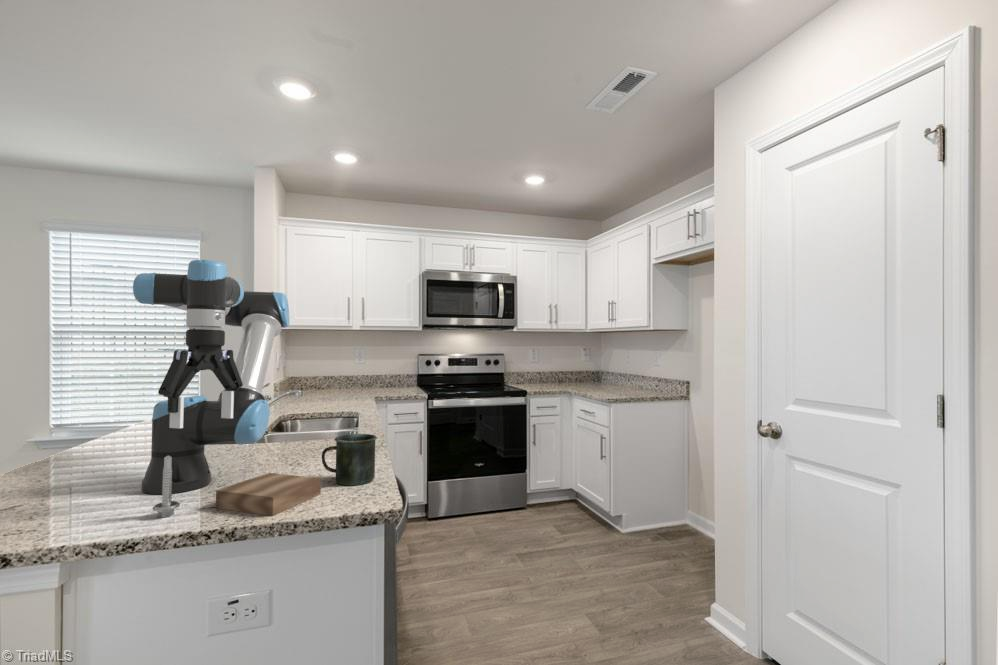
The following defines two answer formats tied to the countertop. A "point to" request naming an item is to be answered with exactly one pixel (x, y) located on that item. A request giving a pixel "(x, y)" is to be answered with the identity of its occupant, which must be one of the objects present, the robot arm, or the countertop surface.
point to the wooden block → (268, 493)
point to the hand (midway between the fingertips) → (203, 422)
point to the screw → (166, 492)
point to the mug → (353, 459)
